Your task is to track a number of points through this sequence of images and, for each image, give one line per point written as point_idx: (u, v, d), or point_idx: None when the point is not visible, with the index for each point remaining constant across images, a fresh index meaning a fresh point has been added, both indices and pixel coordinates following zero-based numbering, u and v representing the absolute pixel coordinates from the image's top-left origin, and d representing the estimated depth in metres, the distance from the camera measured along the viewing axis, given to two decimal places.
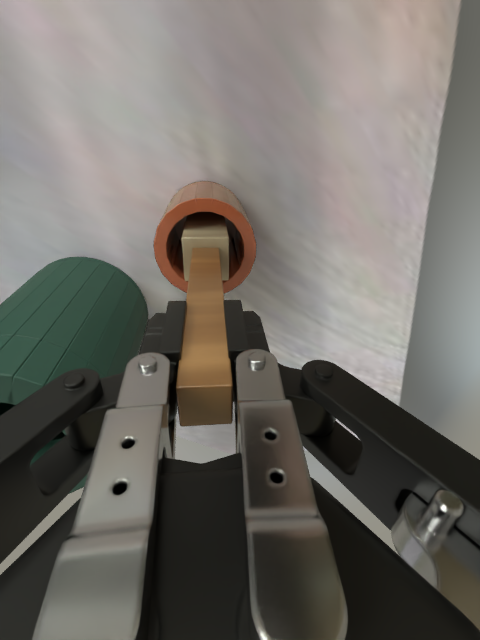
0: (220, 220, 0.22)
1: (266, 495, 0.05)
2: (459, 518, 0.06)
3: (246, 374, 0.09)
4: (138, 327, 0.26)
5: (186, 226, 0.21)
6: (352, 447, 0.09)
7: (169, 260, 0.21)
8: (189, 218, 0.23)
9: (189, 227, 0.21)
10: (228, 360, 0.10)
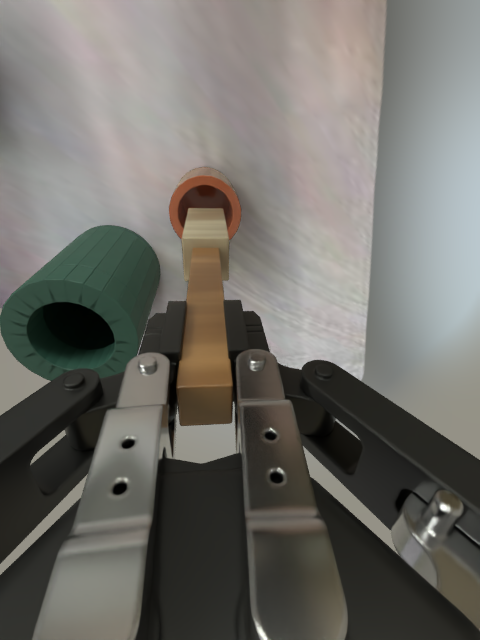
0: (220, 220, 0.22)
1: (266, 495, 0.05)
2: (459, 518, 0.06)
3: (246, 374, 0.09)
4: (154, 277, 0.35)
5: (186, 226, 0.21)
6: (352, 447, 0.09)
7: (179, 221, 0.30)
8: (189, 218, 0.23)
9: (189, 226, 0.21)
10: (228, 360, 0.10)
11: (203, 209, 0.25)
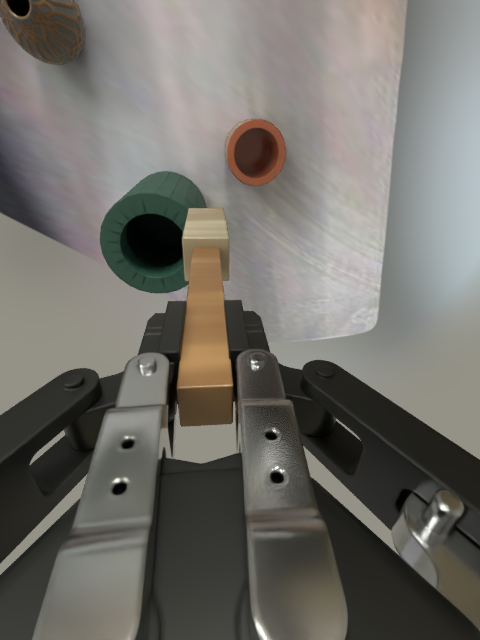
0: (220, 220, 0.22)
1: (266, 495, 0.05)
2: (460, 518, 0.06)
3: (247, 374, 0.09)
4: None
5: (186, 226, 0.21)
6: (352, 447, 0.09)
7: (234, 160, 0.36)
8: (189, 218, 0.23)
9: (189, 227, 0.21)
10: (229, 360, 0.10)
11: (203, 209, 0.25)
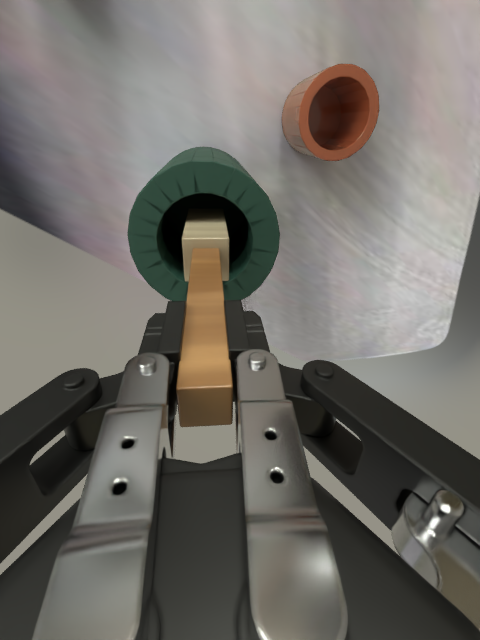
0: (220, 220, 0.22)
1: (266, 495, 0.05)
2: (460, 518, 0.06)
3: (246, 374, 0.09)
4: None
5: (186, 226, 0.21)
6: (352, 447, 0.09)
7: None
8: (189, 218, 0.23)
9: (189, 227, 0.21)
10: (228, 361, 0.10)
11: (203, 209, 0.25)
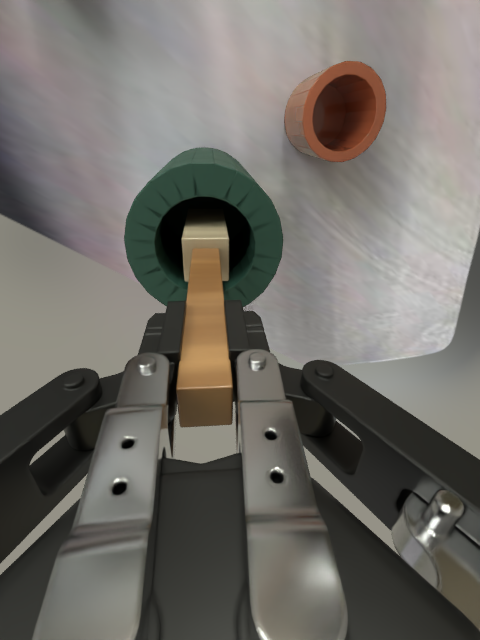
0: (220, 221, 0.22)
1: (266, 495, 0.05)
2: (459, 518, 0.06)
3: (247, 374, 0.09)
4: None
5: (186, 227, 0.21)
6: (352, 447, 0.09)
7: None
8: (189, 218, 0.23)
9: (189, 227, 0.21)
10: (228, 361, 0.10)
11: (203, 209, 0.25)
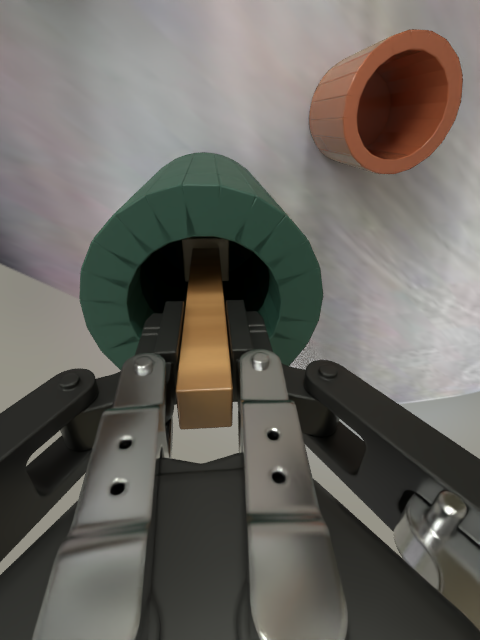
0: None
1: (268, 495, 0.05)
2: (462, 520, 0.06)
3: (250, 374, 0.09)
4: None
5: None
6: (356, 447, 0.09)
7: None
8: None
9: None
10: (228, 363, 0.10)
11: None
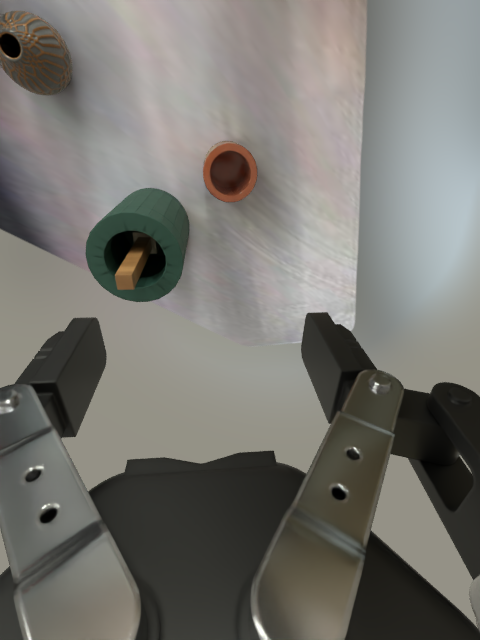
0: None
1: (320, 502, 0.05)
2: None
3: (362, 391, 0.08)
4: (187, 228, 0.45)
5: None
6: (469, 491, 0.08)
7: (210, 179, 0.39)
8: None
9: None
10: (133, 270, 0.31)
11: None
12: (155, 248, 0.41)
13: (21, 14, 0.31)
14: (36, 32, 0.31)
